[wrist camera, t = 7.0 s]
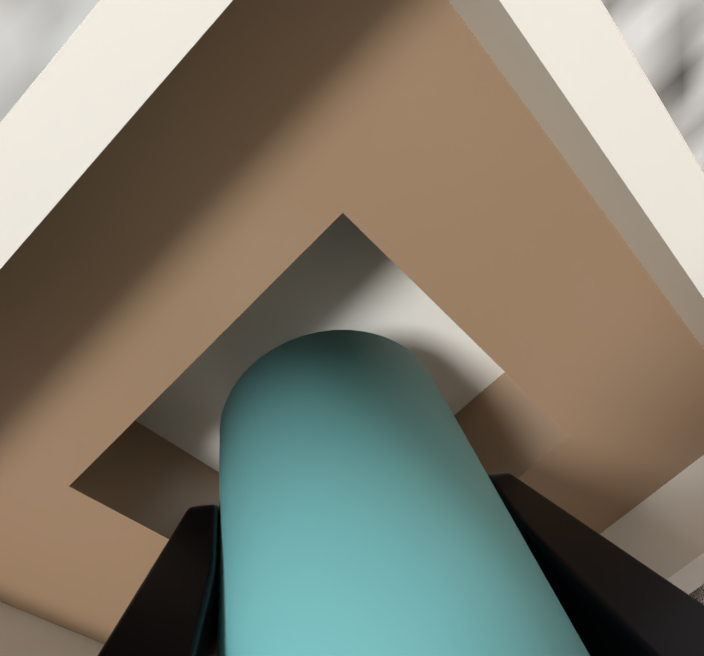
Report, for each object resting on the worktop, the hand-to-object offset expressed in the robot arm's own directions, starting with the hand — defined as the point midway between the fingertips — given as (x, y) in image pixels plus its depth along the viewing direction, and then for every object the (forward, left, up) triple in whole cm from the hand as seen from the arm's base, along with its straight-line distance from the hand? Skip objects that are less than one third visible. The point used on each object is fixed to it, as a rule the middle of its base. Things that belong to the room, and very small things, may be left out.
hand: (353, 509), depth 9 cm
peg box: (0, 0, -5) cm, 5 cm away
